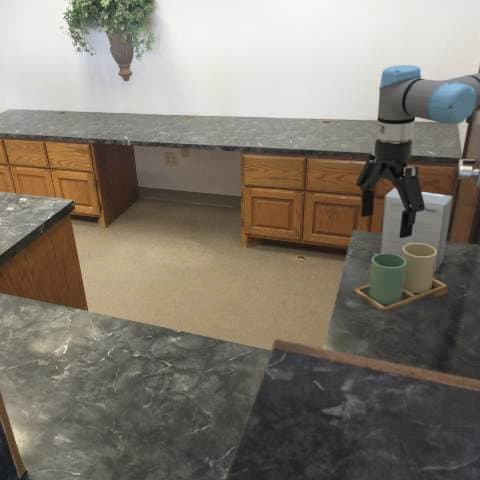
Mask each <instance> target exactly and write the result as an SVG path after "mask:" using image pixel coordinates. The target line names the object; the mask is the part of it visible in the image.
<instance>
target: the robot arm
mask: <svg viewBox="0 0 480 480" xmlns="http://www.w3.org/2000/svg"><path fill="white" fill-rule="evenodd" d="M421 71H422V70H421V68H420V67H419V66H417V65H412V64H402V65H393V66H387V67H386V68H384V69H383V70H382V73H381V78H380V84H379V88H378V89H379V93H378V109H377V120H376V121H377V123H376V132H375V137H376V138H377V139H376V140H375V142H374V152H372V153H368V154H367V155H366V161H365V164H364V165H363V168H362V170H361V172H360V174H359V175H358V178H357V180H356V182H355V185H356V187H359V188H360V191H361V196H360V197H361V198H360V201H361V209H360V210H361V211H360V217H361V218H365V217H369V216H372V215H373V210H374V209H373V207H374V198H375V197H374V196H375V186H376V185H377V184H378V183H379V181H381V180H382V179H386V180H388V181H389V182H391V184H392V185H393V186H395V188H397V191H398V193H399V196H400V198H401V201H402V203H403V205H404V208H405V210H404V211H402V219H401V227H400V236H399V237H400V238H405V237H409V236H412V228H413V225H414V224H415V219H416V212H420V211H424V210H425V205H424V201H423V196H422V192H423V191H422V188H421V184H420V179H419V166H418V165H415V166H414V165H413V166H408V159H409V158H410V157H411V155H412V148H413V140H412V139H413V138H414V134H415V133H414V132H415V121H416V118H418V119H423V120H426V121H432V122H436V123H439V124H448V125H449V124H450V125H458V124H461V123H463V122H465V120H466V119H467V118H469V117H470V116H471V115H472V114H473V113H475V112H480V72H477V73H473V74H468V75H467V74H466V75H463V76H458V77H453V78H449V79H443V80H433V79H426V78H422V75H421ZM373 189H374V190H373ZM410 205H411V207H410Z"/></svg>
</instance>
